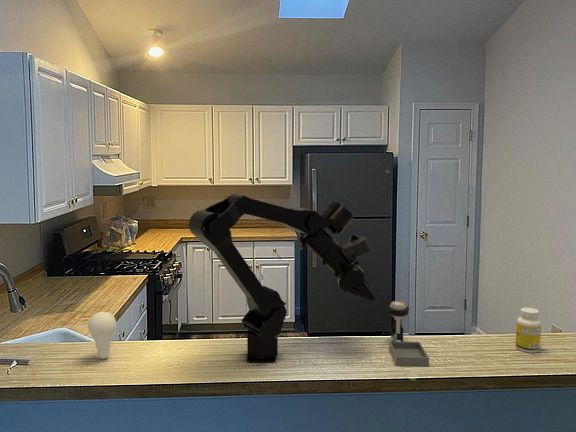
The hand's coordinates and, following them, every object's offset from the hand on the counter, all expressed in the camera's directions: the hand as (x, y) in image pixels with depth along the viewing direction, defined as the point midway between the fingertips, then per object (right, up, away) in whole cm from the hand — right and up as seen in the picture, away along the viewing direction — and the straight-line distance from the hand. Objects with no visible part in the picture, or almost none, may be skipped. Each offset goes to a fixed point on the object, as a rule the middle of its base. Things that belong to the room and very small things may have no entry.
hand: (371, 293), depth 132 cm
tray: (+7, -14, -7) cm, 17 cm away
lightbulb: (-63, -14, -8) cm, 65 cm away
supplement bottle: (+38, -13, -1) cm, 40 cm away
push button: (+7, -13, +2) cm, 14 cm away
